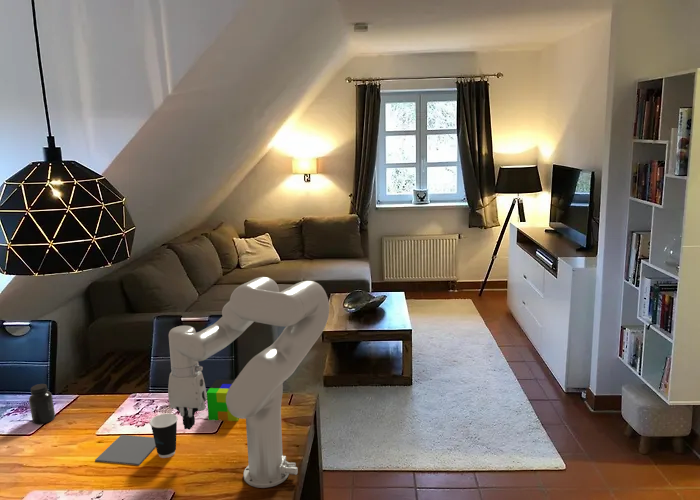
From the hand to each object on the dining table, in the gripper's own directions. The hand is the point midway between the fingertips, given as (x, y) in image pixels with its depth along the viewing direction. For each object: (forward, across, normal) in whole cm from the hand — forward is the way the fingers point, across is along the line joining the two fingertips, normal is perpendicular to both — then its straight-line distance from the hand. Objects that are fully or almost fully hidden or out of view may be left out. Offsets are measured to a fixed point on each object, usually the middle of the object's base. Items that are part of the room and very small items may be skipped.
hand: (189, 426), depth 171 cm
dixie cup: (+10, +8, 0) cm, 12 cm away
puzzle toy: (+10, -1, -26) cm, 28 cm away
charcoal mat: (+10, +20, 0) cm, 22 cm away
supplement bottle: (+10, +59, -13) cm, 61 cm away
